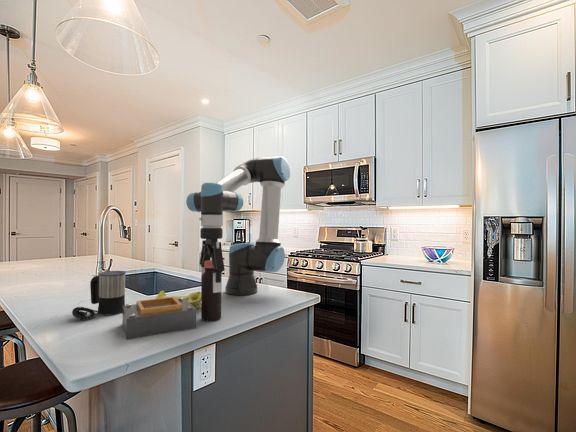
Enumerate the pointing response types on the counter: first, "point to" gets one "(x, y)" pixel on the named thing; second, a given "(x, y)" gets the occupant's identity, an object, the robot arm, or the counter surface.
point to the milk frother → (105, 295)
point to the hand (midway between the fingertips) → (210, 288)
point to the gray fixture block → (158, 317)
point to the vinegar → (209, 295)
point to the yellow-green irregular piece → (191, 298)
